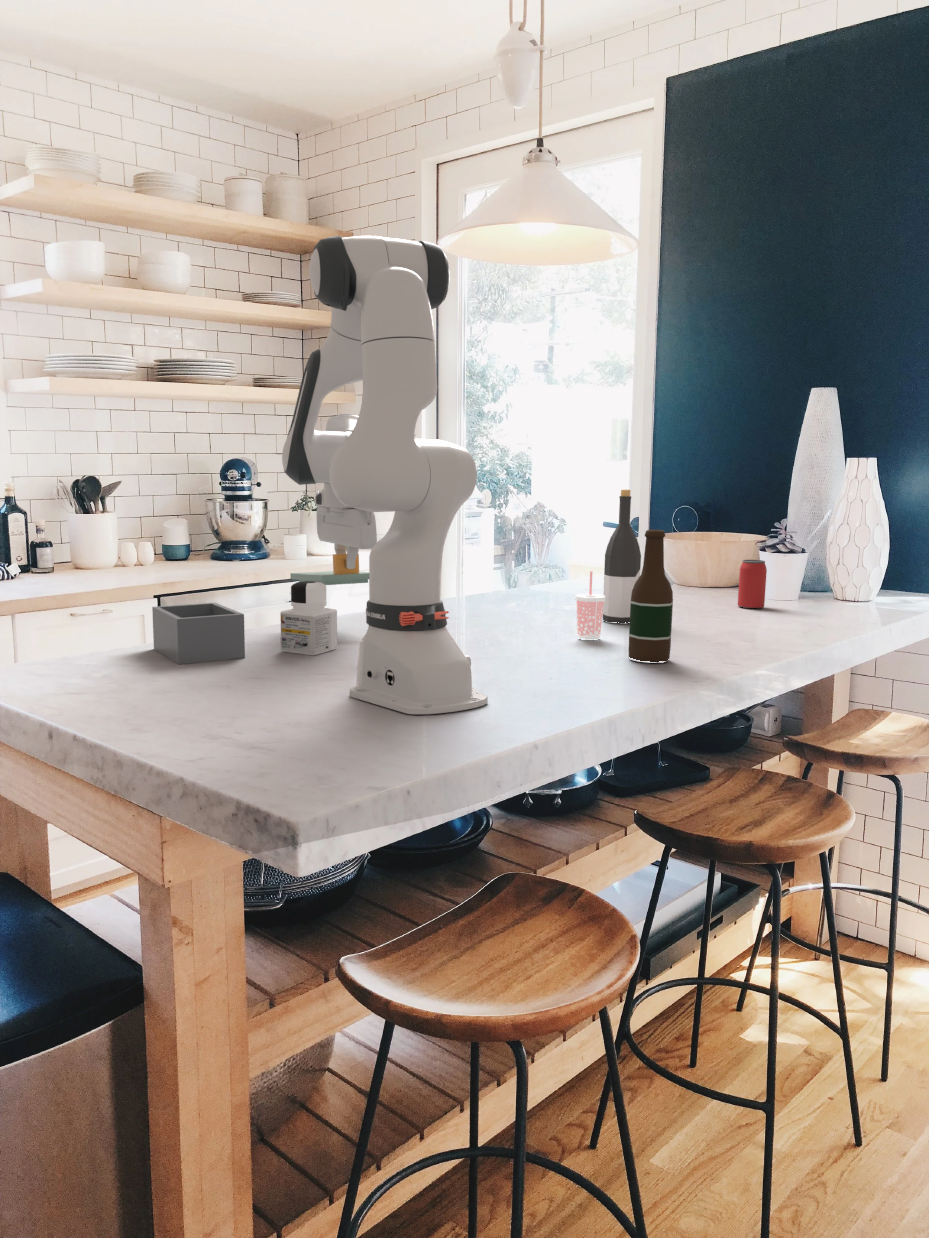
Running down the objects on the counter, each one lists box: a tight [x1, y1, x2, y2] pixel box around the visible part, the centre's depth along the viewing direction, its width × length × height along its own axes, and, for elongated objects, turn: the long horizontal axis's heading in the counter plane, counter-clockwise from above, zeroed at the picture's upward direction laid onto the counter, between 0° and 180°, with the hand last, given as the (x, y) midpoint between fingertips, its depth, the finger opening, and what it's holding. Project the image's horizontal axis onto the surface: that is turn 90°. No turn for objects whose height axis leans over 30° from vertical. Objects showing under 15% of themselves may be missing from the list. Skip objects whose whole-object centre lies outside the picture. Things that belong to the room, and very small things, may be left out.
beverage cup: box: [574, 571, 605, 639], centre depth 197 cm, size 6×6×14 cm
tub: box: [151, 602, 246, 665], centre depth 177 cm, size 16×12×8 cm
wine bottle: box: [602, 489, 642, 623], centre depth 219 cm, size 8×8×30 cm
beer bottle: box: [628, 529, 674, 662], centre depth 176 cm, size 8×8×24 cm
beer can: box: [737, 559, 768, 610], centre depth 245 cm, size 7×7×12 cm
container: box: [280, 581, 338, 656], centre depth 181 cm, size 8×8×13 cm
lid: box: [289, 553, 369, 586], centre depth 199 cm, size 16×12×6 cm
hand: (346, 567), depth 193 cm, fingers closed on lid
